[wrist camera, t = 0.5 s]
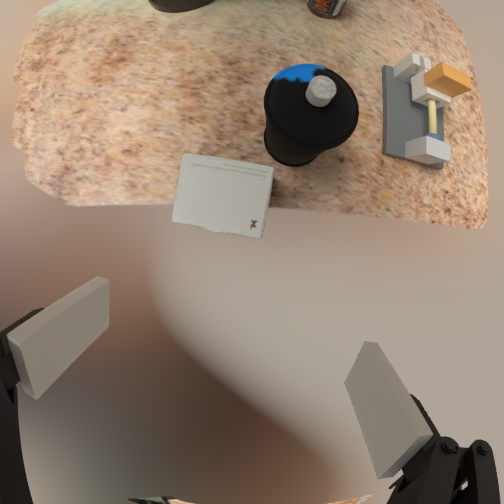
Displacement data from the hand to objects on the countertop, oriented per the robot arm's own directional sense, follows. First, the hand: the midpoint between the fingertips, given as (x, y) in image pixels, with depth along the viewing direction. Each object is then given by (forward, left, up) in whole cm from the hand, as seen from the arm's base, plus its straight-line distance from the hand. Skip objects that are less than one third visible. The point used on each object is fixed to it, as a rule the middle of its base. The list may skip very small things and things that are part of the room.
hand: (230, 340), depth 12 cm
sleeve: (-26, +23, -23) cm, 42 cm away
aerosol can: (-15, +4, -27) cm, 31 cm away
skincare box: (-6, -2, -27) cm, 28 cm away
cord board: (-22, +23, -27) cm, 42 cm away
